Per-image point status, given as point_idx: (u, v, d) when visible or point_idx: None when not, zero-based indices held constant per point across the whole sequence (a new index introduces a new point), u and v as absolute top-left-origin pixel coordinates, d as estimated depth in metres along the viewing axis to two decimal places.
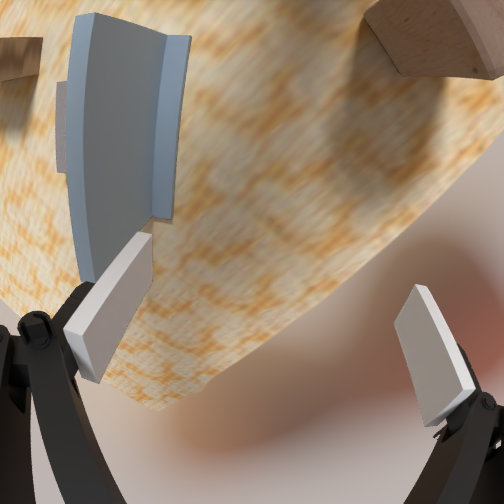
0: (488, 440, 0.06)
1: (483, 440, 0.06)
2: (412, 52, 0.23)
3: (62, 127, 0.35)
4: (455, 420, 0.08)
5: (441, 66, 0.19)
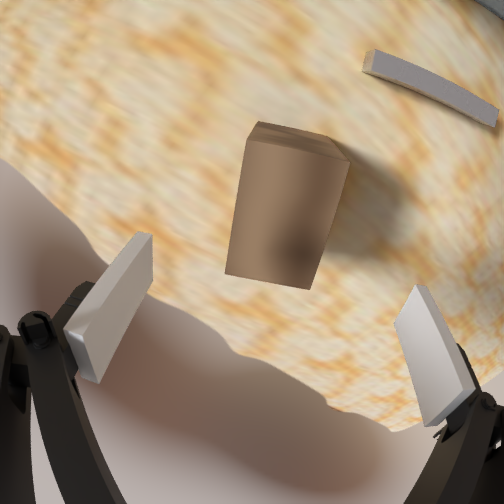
0: (488, 440, 0.06)
1: (483, 440, 0.06)
2: None
3: (444, 83, 0.19)
4: (455, 420, 0.08)
5: None
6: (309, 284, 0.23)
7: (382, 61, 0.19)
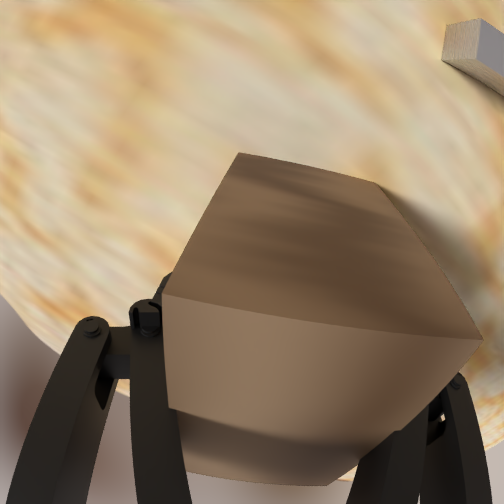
0: (426, 408, 0.08)
1: None
2: None
3: None
4: None
5: None
6: (327, 483, 0.10)
7: (493, 45, 0.07)
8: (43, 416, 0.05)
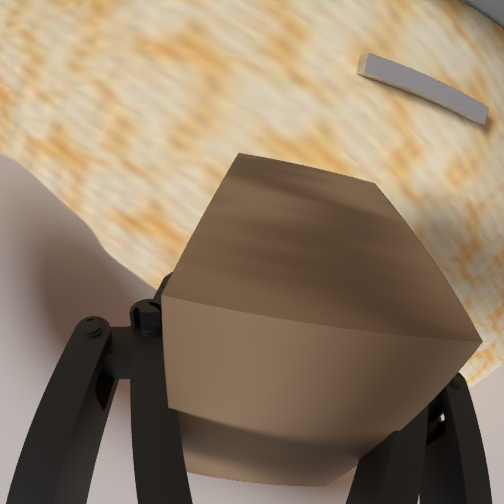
0: (426, 408, 0.08)
1: None
2: None
3: (434, 83, 0.21)
4: None
5: None
6: (326, 483, 0.10)
7: (375, 64, 0.21)
8: (44, 416, 0.05)
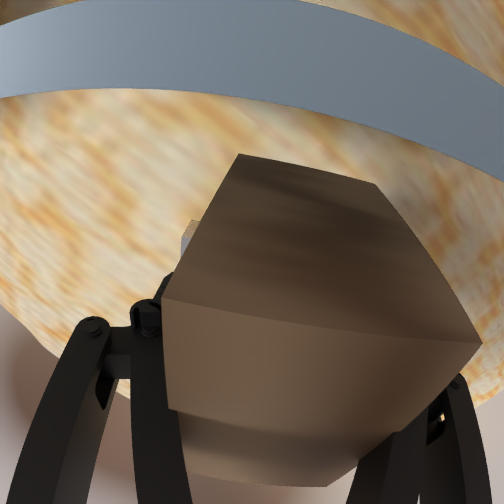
0: (426, 408, 0.08)
1: None
2: None
3: None
4: None
5: None
6: (326, 484, 0.10)
7: None
8: (44, 416, 0.05)
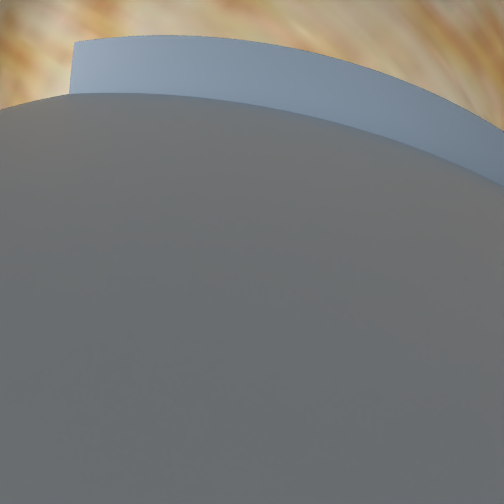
0: None
1: None
2: None
3: None
4: None
5: None
6: None
7: None
8: None
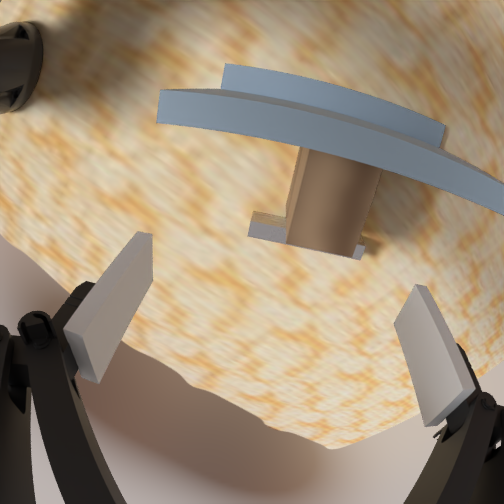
0: (488, 440, 0.06)
1: (483, 440, 0.06)
2: None
3: None
4: (455, 420, 0.08)
5: None
6: (352, 252, 0.28)
7: (256, 229, 0.35)
8: None
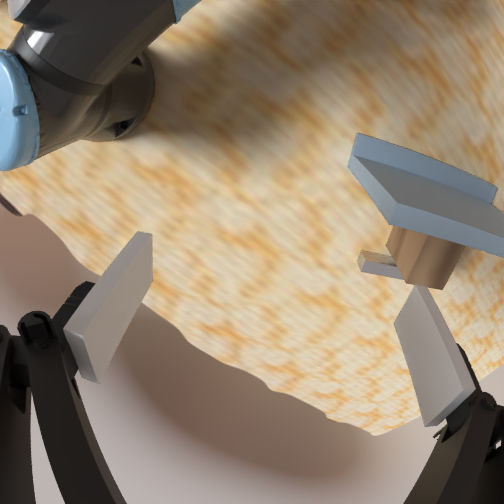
0: (488, 440, 0.06)
1: (483, 440, 0.06)
2: None
3: None
4: (455, 420, 0.08)
5: None
6: (443, 287, 0.36)
7: (368, 266, 0.43)
8: None
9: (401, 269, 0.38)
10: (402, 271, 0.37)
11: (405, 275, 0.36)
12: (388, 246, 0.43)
